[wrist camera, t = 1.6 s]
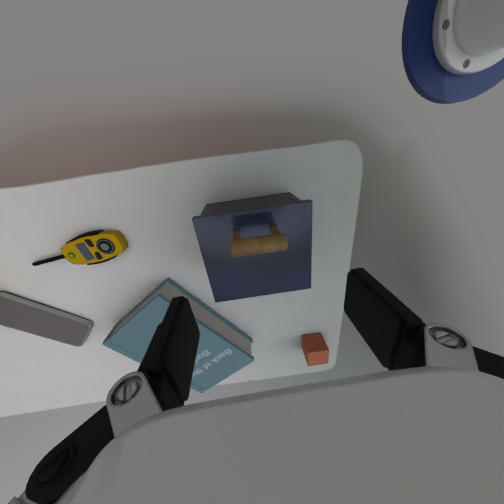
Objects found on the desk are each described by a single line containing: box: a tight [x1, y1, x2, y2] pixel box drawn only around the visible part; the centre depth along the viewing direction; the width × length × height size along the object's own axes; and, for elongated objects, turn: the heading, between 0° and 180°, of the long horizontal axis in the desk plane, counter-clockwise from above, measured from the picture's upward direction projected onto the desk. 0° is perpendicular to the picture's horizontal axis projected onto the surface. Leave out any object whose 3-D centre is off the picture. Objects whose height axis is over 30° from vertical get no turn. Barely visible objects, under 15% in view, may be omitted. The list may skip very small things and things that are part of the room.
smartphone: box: [0, 292, 93, 346], centre depth 36 cm, size 7×1×15 cm
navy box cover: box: [192, 199, 312, 302], centre depth 21 cm, size 11×13×5 cm
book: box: [103, 278, 254, 393], centre depth 38 cm, size 23×16×5 cm
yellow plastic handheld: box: [32, 230, 128, 266], centre depth 30 cm, size 5×2×15 cm
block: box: [302, 333, 329, 366], centre depth 43 cm, size 4×4×4 cm
